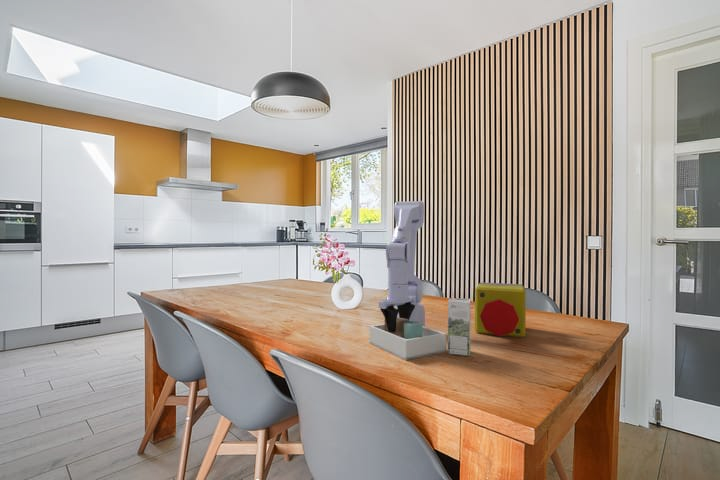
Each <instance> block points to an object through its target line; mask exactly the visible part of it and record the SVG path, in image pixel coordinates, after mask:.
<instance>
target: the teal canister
mask: <svg viewBox="0 0 720 480" xmlns="http://www.w3.org/2000/svg"><path fill="white" fill-rule="evenodd" d="M418 337H422V323H421V322H417V321H408V322H405V323H404V339H412V338H418Z"/></svg>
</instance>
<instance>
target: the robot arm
mask: <svg viewBox="0 0 720 480" xmlns="http://www.w3.org/2000/svg"><path fill="white" fill-rule="evenodd" d="M393 214H394V219H395V223H396V227H395V228H394V229H393V230H392V231H393V232H392V235H391V240H390V243H389V244H386V249H385V257H386V258H385V259H386V268H387V269H388V271H387V272H388V273H387V275H388V276H387V277H388V281H387V284H388V285H387V295H388V296H387V297H385V298H384V299H383V300H379V301H378V308H379V309H380V311H381V313H382V315H383V317H384V321H385V320H386V323H387V327H388V331H389V332H395V329H396V320H397V317H399V318H404V319H409V321H417V322H421V323H422V326H424V327H426V310H425V307H424V305H423V303H422V300H423V282H422V281H421V279H420V278H419V277H418V276H417V275H415V267H416V265H415V264H416V249H417V247H416V244H417V234H418V230H419V229H420V228H423V227H424V220H425V218H424V217H425V203H424V201H423V200H418V201H417V200H414V201H413V200H410V201H398V200H397V201H395V203H394V204H393Z"/></svg>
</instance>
